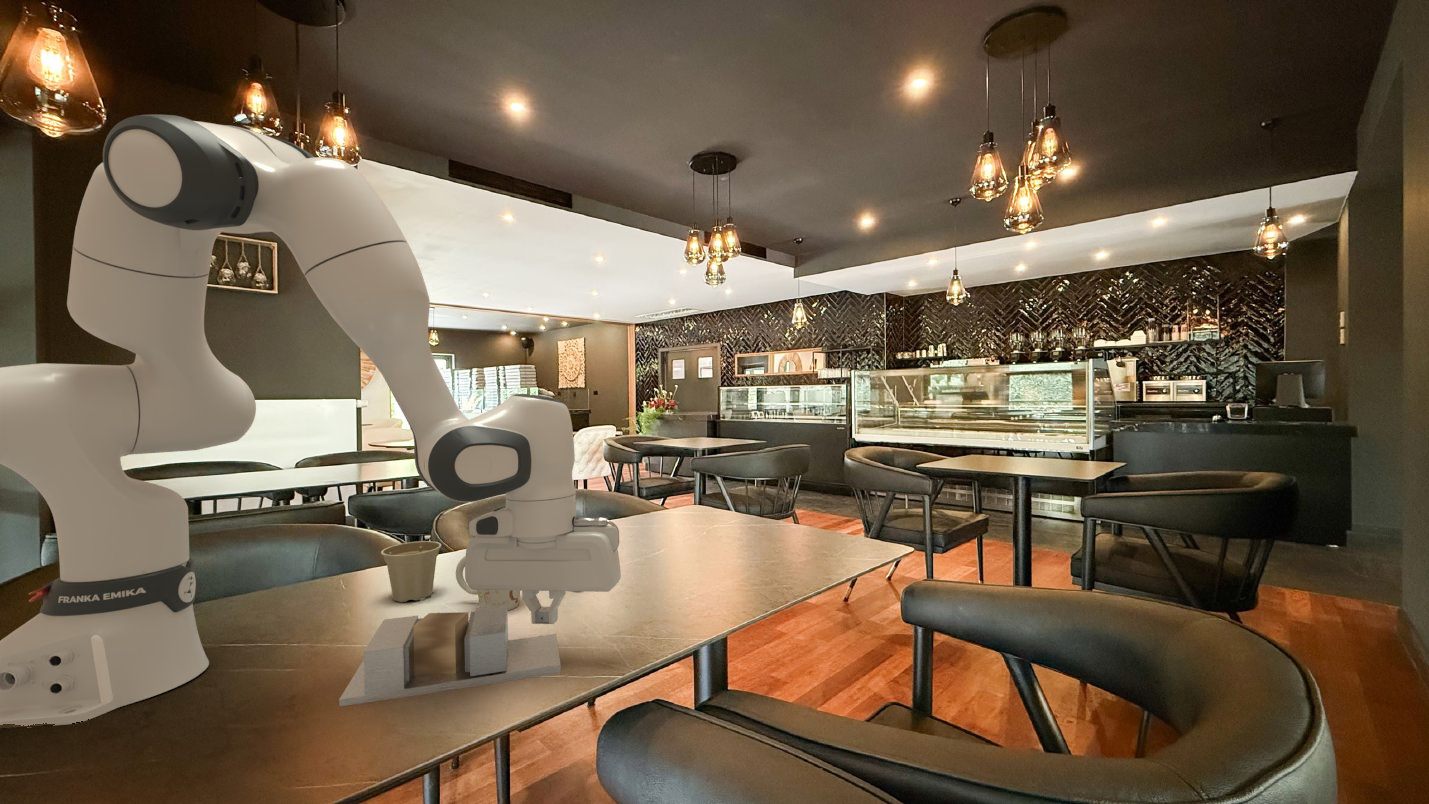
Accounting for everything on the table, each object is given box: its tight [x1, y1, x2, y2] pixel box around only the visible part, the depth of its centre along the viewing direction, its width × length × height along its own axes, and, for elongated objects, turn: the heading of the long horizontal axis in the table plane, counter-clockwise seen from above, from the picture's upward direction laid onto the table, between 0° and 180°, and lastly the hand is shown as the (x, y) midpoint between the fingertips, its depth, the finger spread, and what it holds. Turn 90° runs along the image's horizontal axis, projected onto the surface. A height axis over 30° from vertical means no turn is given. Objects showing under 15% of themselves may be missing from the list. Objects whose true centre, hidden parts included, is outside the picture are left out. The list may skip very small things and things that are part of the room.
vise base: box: [338, 615, 562, 707], centre depth 73 cm, size 24×10×6 cm, turn 108°
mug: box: [455, 555, 521, 612], centre depth 96 cm, size 8×13×10 cm, turn 78°
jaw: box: [464, 605, 509, 676], centre depth 74 cm, size 5×10×5 cm, turn 19°
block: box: [413, 611, 470, 675], centre depth 72 cm, size 5×4×6 cm
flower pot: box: [380, 540, 442, 603], centre depth 101 cm, size 9×9×9 cm
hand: (544, 622), depth 75 cm, fingers closed
